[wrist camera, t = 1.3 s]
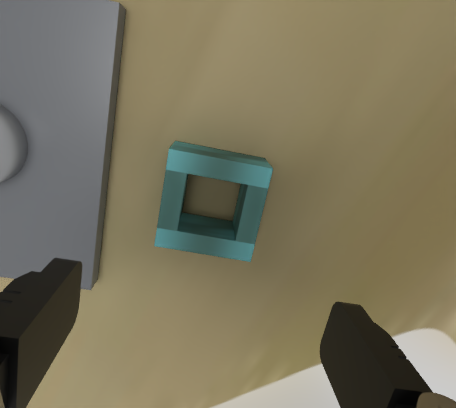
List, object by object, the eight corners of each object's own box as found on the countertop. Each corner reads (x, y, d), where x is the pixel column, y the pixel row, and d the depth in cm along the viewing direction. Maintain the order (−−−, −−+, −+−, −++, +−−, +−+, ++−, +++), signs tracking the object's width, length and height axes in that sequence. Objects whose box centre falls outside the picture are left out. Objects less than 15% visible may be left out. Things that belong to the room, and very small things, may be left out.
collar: (264, 158, 24) (273, 168, 20) (245, 239, 25) (250, 261, 22) (175, 140, 23) (169, 148, 20) (162, 225, 25) (154, 246, 21)
